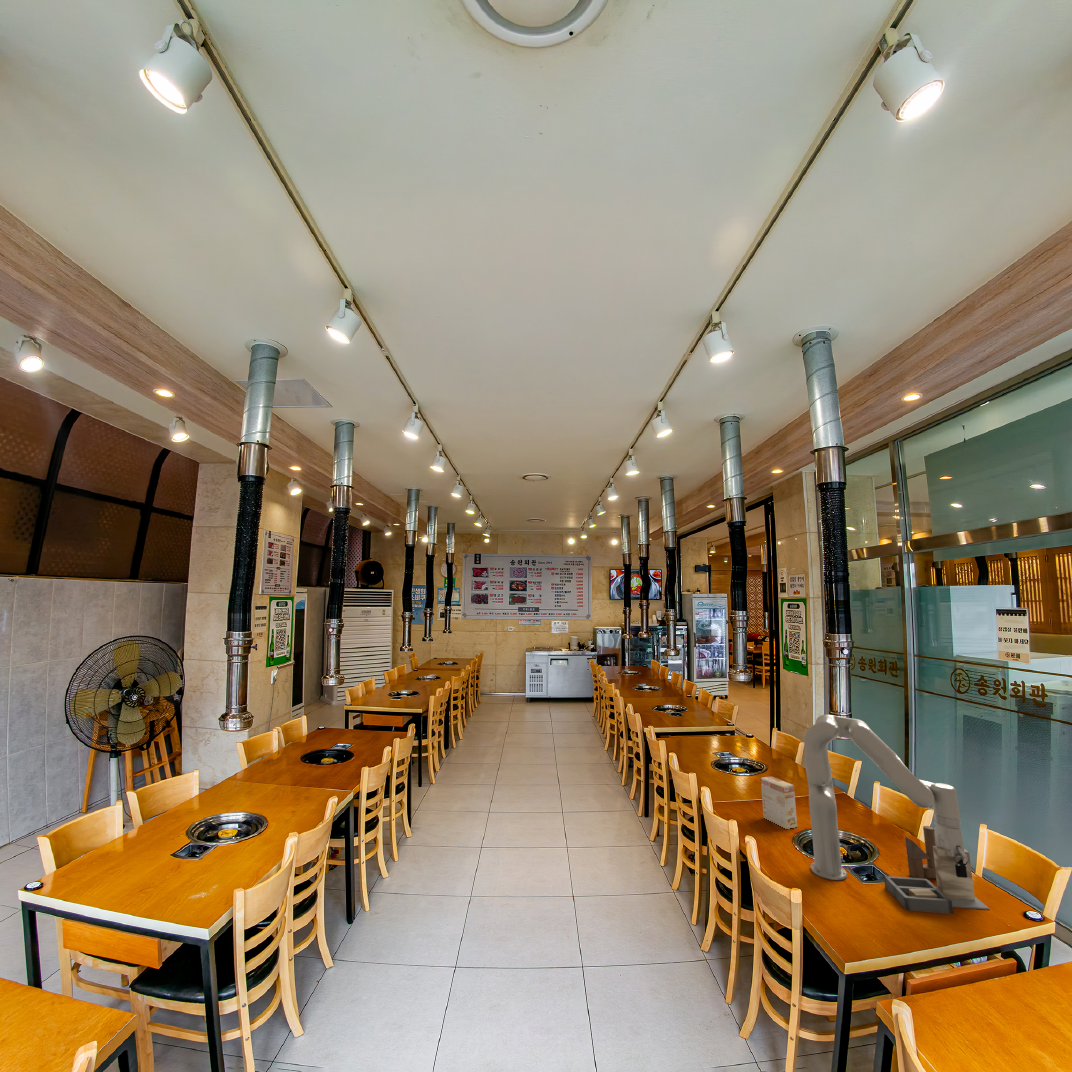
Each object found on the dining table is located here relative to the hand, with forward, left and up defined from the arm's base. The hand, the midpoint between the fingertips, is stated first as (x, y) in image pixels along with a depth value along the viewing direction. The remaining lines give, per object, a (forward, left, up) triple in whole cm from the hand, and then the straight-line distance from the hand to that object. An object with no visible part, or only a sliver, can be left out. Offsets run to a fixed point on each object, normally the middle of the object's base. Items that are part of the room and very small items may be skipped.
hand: (953, 870), depth 185 cm
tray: (+3, -14, -9) cm, 18 cm away
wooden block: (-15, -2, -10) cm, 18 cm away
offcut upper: (+7, -14, -7) cm, 18 cm away
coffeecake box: (-60, -43, -10) cm, 74 cm away
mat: (0, 0, -9) cm, 9 cm away
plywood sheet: (0, 0, -9) cm, 9 cm away
